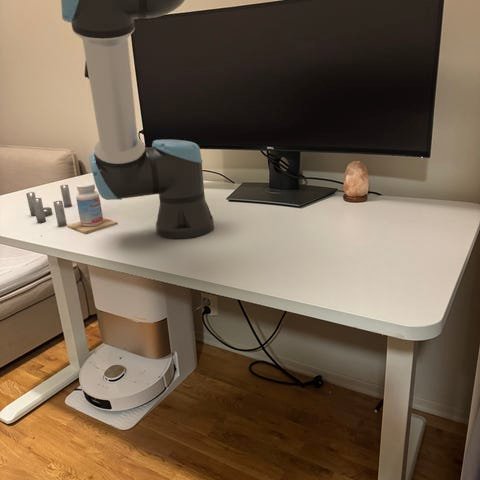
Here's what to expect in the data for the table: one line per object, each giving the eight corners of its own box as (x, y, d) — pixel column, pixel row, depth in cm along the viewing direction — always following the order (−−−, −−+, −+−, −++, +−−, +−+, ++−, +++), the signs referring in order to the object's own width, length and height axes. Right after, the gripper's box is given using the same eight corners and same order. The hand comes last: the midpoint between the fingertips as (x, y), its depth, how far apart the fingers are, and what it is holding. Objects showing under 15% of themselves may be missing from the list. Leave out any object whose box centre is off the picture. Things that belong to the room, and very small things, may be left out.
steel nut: (54, 212, 146) (52, 206, 145) (50, 216, 142) (49, 210, 142) (41, 214, 146) (39, 207, 145) (37, 218, 142) (36, 211, 141)
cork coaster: (117, 224, 131) (117, 222, 131) (85, 234, 124) (85, 232, 124) (99, 218, 137) (98, 216, 137) (67, 227, 131) (67, 225, 131)
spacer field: (108, 213, 141) (104, 191, 139) (53, 229, 130) (48, 205, 127) (75, 203, 155) (71, 183, 152) (23, 217, 143) (18, 195, 141)
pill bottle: (97, 227, 127) (90, 187, 123) (77, 227, 128) (69, 187, 125) (107, 220, 133) (101, 181, 129) (88, 220, 134) (81, 182, 130)
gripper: (137, 18, 123) (147, 101, 131) (87, 27, 139) (99, 101, 147) (113, 17, 118) (125, 104, 126) (64, 27, 134) (77, 103, 142)
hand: (111, 102), depth 136 cm, fingers open, 13 cm apart
